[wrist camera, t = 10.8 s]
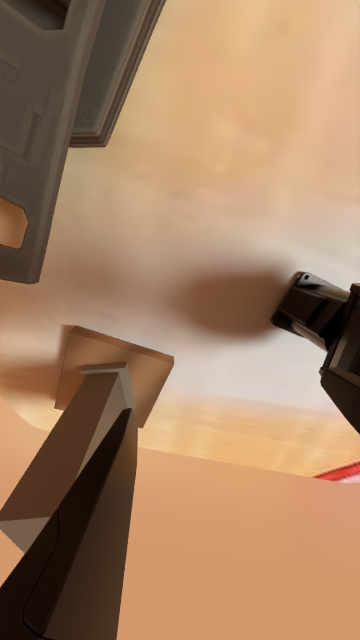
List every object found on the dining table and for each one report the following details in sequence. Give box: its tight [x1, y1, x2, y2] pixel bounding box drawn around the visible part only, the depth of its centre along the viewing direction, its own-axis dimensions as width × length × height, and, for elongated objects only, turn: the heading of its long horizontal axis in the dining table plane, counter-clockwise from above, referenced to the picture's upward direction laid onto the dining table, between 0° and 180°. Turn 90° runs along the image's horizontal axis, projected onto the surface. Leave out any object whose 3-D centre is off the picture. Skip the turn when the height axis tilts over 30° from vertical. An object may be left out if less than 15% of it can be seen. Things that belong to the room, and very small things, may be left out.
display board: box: [54, 326, 174, 428], centre depth 23 cm, size 12×12×2 cm
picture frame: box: [0, 363, 136, 553], centre depth 16 cm, size 5×7×12 cm
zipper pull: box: [0, 0, 166, 284], centre depth 10 cm, size 9×7×25 cm
